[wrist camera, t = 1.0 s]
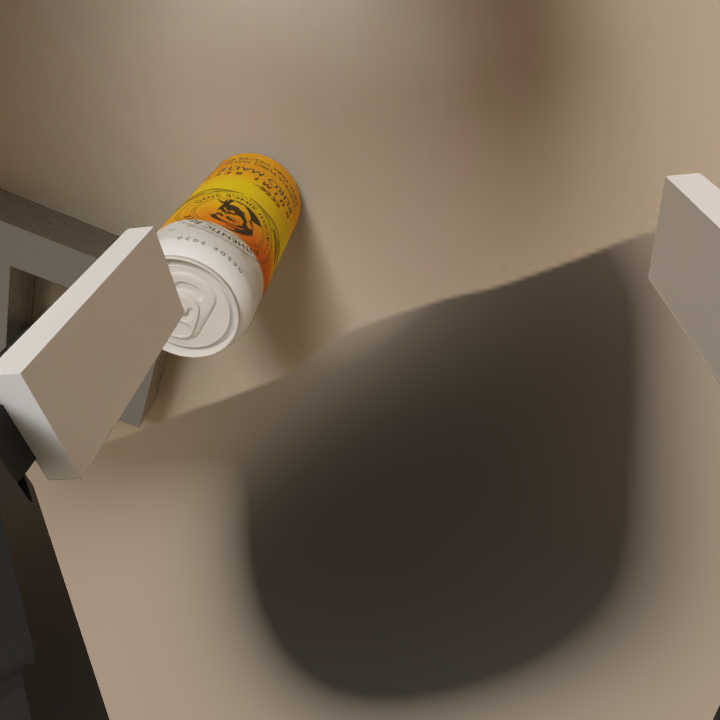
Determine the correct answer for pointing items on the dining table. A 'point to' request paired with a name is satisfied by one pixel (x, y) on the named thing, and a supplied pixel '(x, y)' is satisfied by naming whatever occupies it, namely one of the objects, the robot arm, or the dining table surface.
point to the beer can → (227, 250)
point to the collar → (53, 274)
